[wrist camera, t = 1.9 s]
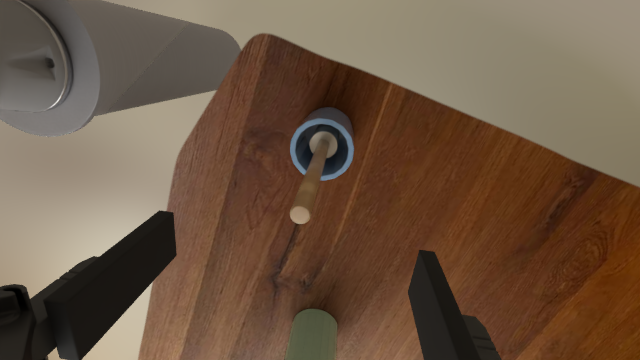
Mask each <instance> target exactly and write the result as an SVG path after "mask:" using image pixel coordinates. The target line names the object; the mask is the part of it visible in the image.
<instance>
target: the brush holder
mask: <svg viewBox="0 0 640 360" xmlns="http://www.w3.org/2000/svg"><path fill="white" fill-rule="evenodd" d="M320 124H326V125H331V126H333V127H334V128H336V129H338V130H339V141H338V147H337V151H336V152H335V154H334V155H333V156H331V157H329V158H326V160H325V164H324V168H323V172H322V176H321V179H320V180H323V181H324V180H329V179H333V178H337V177H338V176H339V175H341V174H342V173H344V172H345V171H346V170H347V168H348V167H349V165H350V164H351V162H352V160H353V153H354V132H353V127H352V124H351V122H350V120H349V118H348V117H347V116H346V115H345V114H344V113H343V112H341V111H340V110H338V109H335V108H330V107H325V108H320V109H317V110H315V111H313V112H312V113H311V114H310V115H309V116H307V117H306V119H305V120H304V121H303V122H302V124H301V125H300V126H299V127H298V129H297V130H296V132H295V134H294V135H293V137H292V139H291V146H290V154H291V157H292V160H293V163H294V165H295V166H296V167H297V168H298V169H299V171H300V172H301V173H302V174H304V175H305V174H306V171H307V169H308V166H309V164H310V162H311V159H312V157H313V153H312V152H311V149H310V140H311V138H312V136H313V134H314V132H315V130H316V128H317V127H318V126H319V125H320Z"/></svg>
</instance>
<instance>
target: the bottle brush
mask: <svg viewBox="0 0 640 360" xmlns="http://www.w3.org/2000/svg"><path fill="white" fill-rule="evenodd" d="M338 141H339V130H338V129H336V128H334V127H333V126H331V125H326V124H320V125H319V126H318V127H317V128H316V130H315V132H314V134H313V136H312V138H311V140H310V149H311V152H312V153H313V157H312V159H311V162H310V164H309V166H308V169H307V171H306V174H305V176H304V179H303V181H302V184H301V186H300V188H299V191H298V193H297V196H296V198H295V201H294V203H293V205H292V208H291V210H290V217H291V219H292V220H293V221H294V222H295V223H298V224H304V223H306V222H308V221H309V219H310V217H311V213H312V210H313V206H314V202H315V198H316V194H317V191H318V187H319V183H320V179H321V176H322V172H323V168H324V164H325V160H326V158H329V157H331V156H333V155H334V154H335V152H336V151H337V147H338Z"/></svg>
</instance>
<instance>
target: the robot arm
mask: <svg viewBox="0 0 640 360" xmlns="http://www.w3.org/2000/svg"><path fill="white" fill-rule="evenodd" d="M72 84H73V64H72V59H71V56H70V52H69V50H68V47H67V45H66V43H65V41H64V39H63V37H62V35H61V34H60V32H59V31H58V29H57V28H56V27H55V25H54V24H53V23H52V22H51V21H50V20H49V18H47V17H46V16H45V15H44V14H43V13H42V12H41V11H40V10H38V9H37V8H36V7H34V6H33V5H31V4H29V3H28V2H26V1H24V0H0V109H6V110H10V111H15V112H21V113H37V112H43V111H49V110H52V109H55V108H57V107H58V106H60V105H61V104H62V103H63V102H64V101H65V100H66V99H67V97H68V95H69V94H70V91H71V88H72ZM175 256H176V242H175V229H174V215H173V212H166V211H158V212H157V213H156V214H154V215H153V216H152V217H150V218H149V219H148V220H147V221H145V222H144V223H143V224H141V225H140V226H139V227H137V228H136V229H135V230H134V231H132V232H131V233H130V234H128V235H127V236H126V237H124V238H123V239H122V240H121V241H119V242H118V243H117V244H115V245H114V246H113V247H111V248H110V249H109V250H108V251H106V252H105V253H104V254H102V255H101V256H100V257H95V256H93V257H91V258H89V259H87V260H85V261H82V262H80V263H79V264H77V265H76V266H75V267H73V268H72V269H70V270H69V272H66V273H65V274H64V275H62V276H61V277H60V278H59V279H57V280H55V281H54V282H53V283H51V284H50V285H49V286H47V287H46V288H45V289H43V290H42V291H40V292H39V293H38V294H36V295H35V296H34V297H32V298H31V299H30V298H29V295H28V292H27V288H26V287H25V286H23V285H16V284H13V285H6V286H2V287H0V360H48V356H47V355H48V354H49V353H50V352H51V351H53V349H55V348H56V347H57V350H58V354H59V357H60V358H61V359H67V360H82V358H83V357H84V356H85V355H86V354H87V353H88V352H89V351H90V350H91V349H92V348H93V346H94V345H95V344H96V343H97V342H98V341H99V340H100V339H101V338H102V337H103V336H104V334H105V333H106V332H107V331H108V330H109V329H110V328H111V327H112V326H113V324H114V323H115V322H116V321H117V320H118V319H119V318H120V317H121V316H122V314H124V312H125V311H126V310H127V309H128V308H129V307H130V306H131V305H132V304H133V303H134V301H135V300H136V299H137V298H138V297H139V296H140V295H141V294H142V293H143V292H144V290H145V289H146V288H147V287H148V286H149V285H150V284H151V283H152V282H153V281H154V280H155V278H156V277H157V276H158V275H159V274H160V273H161V272H162V271H163V270H164V269H165V267H166V266H167V265H168V264H169V263H170V262H171V261H172V260H173V259H174V258H175ZM408 295H409V299H410V303H411V307H412V311H413V315H414V320H415V324H416V328H417V332H418V336H419V340H420V345H421V349H422V353H423V357H424V360H501V358H500V356H499V354H498V352H497V351H496V348H495V346H494V344H493V342H492V341H491V338H490V336H489V334H488V332H487V330H486V328H485V327H484V326H483V325H482V324H481V322H480V321H479V320H478V319H477V318H476V317H473V316H467V315H462V314H461V312H460V310H459V307H458V305H457V303H456V300H455V298H454V296H453V294H452V291H451V289H450V287H449V284H448V282H447V280H446V277H445V275H444V273H443V270H442V268H441V266H440V263H439V261H438V259H437V256H436V254H435V252H431V251H424V250H419V254H418V257H417V261H416V264H415V268H414V272H413V275H412V279H411V283H410V286H409V290H408Z"/></svg>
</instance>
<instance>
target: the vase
mask: <svg viewBox="0 0 640 360" xmlns="http://www.w3.org/2000/svg"><path fill="white" fill-rule="evenodd" d="M337 336H338V326H337V323H336V320H335V319H334V318H333V317H332V316H331V315H330V314H329V313H327V312H325V311H323V310H319V309H306V310H303V311H301V312H299V313H298V314H297V315H296V316H295V317H294V319H293V322H292V326H291V330H290V335H289V339H288V344H287V348H286V352H285V357H284V360H336V356H337Z"/></svg>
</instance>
